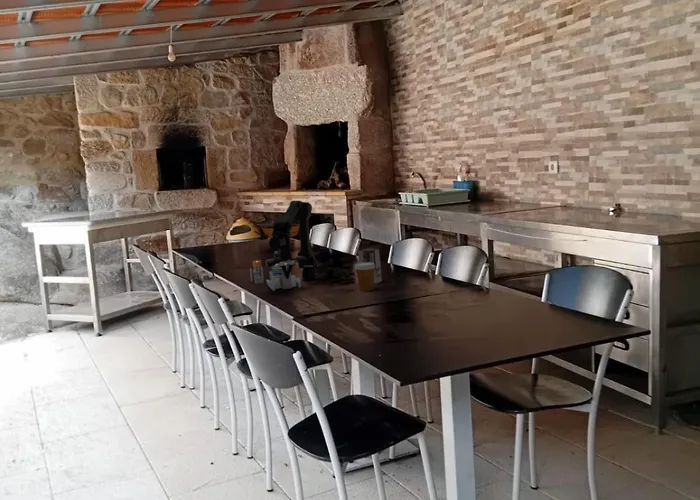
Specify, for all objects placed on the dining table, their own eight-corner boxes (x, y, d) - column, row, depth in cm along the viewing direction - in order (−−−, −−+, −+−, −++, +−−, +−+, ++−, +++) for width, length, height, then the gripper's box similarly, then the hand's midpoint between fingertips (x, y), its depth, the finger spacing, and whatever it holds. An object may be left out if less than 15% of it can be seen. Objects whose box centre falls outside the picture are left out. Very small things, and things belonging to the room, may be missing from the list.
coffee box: (382, 281, 319) (380, 248, 317) (377, 283, 314) (375, 250, 311) (365, 280, 323) (363, 248, 321) (359, 283, 318) (357, 250, 315)
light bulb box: (286, 287, 321) (284, 265, 319) (273, 287, 322) (271, 265, 321) (292, 282, 331) (290, 261, 330) (279, 283, 332) (277, 262, 331)
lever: (260, 274, 343) (259, 269, 345) (261, 264, 335) (260, 258, 337) (253, 275, 342) (252, 269, 344) (253, 265, 334) (252, 259, 336)
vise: (288, 276, 349) (287, 264, 348) (301, 287, 317) (300, 274, 316) (250, 280, 344) (249, 268, 343) (260, 292, 312) (258, 279, 311)
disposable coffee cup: (366, 286, 309) (364, 261, 307) (381, 288, 302) (379, 262, 300) (352, 290, 302) (350, 264, 301) (366, 292, 296) (365, 266, 294)
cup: (260, 257, 427) (257, 230, 424) (253, 252, 451) (251, 227, 448) (313, 251, 438) (311, 225, 435) (303, 247, 462) (302, 222, 459)
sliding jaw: (300, 284, 323) (298, 266, 322) (302, 287, 316) (301, 268, 315) (269, 288, 319) (268, 270, 318) (272, 290, 312) (270, 272, 311)
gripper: (300, 242, 320) (303, 274, 322) (262, 246, 315) (265, 278, 317) (305, 245, 309) (308, 277, 311) (266, 249, 304) (269, 282, 306)
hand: (287, 278), depth 312 cm, fingers closed, pressing on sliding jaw
